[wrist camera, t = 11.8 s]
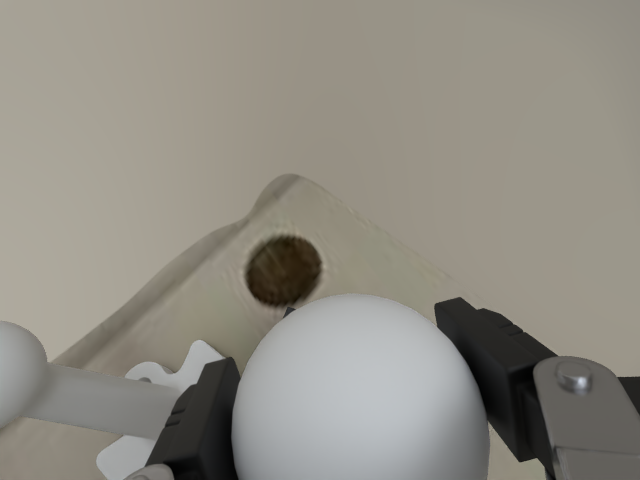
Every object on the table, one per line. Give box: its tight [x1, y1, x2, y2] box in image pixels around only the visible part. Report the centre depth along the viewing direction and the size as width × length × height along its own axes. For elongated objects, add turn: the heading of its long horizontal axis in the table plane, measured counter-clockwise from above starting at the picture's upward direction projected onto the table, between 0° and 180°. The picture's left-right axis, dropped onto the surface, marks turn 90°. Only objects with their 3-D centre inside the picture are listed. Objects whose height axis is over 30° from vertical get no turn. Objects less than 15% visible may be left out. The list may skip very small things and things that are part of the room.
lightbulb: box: [231, 294, 490, 480], centre depth 11 cm, size 6×6×11 cm
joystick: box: [0, 321, 225, 480], centre depth 21 cm, size 11×8×20 cm
